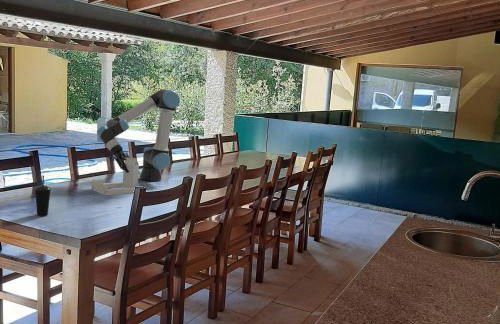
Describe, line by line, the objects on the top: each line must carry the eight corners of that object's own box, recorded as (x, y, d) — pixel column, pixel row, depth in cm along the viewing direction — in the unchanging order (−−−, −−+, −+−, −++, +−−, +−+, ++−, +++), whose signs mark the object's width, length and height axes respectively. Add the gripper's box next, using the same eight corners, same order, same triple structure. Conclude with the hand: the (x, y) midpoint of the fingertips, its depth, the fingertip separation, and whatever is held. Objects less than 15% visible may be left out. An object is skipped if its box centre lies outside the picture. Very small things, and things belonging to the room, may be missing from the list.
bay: (131, 185, 330) (131, 176, 329) (145, 191, 317) (146, 182, 316) (91, 188, 312) (91, 179, 311) (104, 195, 298) (105, 185, 297)
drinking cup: (37, 212, 251) (37, 173, 248) (52, 213, 251) (53, 174, 248) (31, 216, 243) (32, 176, 240) (47, 217, 244) (48, 177, 241)
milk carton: (132, 188, 315) (134, 159, 312) (122, 187, 317) (123, 157, 314) (137, 186, 322) (139, 157, 319) (127, 185, 324) (128, 156, 321)
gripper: (119, 149, 330) (140, 176, 328) (101, 152, 311) (122, 181, 309) (127, 142, 328) (147, 169, 326) (109, 145, 309) (130, 174, 306)
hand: (135, 175), depth 317 cm, fingers closed on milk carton, 8 cm apart
